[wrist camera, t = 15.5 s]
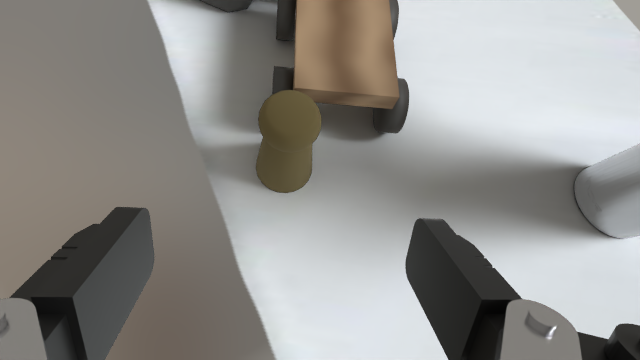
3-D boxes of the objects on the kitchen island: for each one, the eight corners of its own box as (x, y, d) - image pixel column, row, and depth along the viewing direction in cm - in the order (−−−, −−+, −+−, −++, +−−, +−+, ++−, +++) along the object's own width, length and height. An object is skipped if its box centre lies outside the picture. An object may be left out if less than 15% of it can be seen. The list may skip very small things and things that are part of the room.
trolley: (380, 26, 46) (444, -135, 30) (391, 142, 40) (481, 19, 23) (277, 13, 44) (285, -166, 28) (270, 134, 38) (274, -8, 21)
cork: (293, 203, 35) (305, 158, 25) (244, 173, 35) (236, 117, 25) (321, 159, 37) (343, 102, 27) (275, 132, 38) (279, 65, 28)
